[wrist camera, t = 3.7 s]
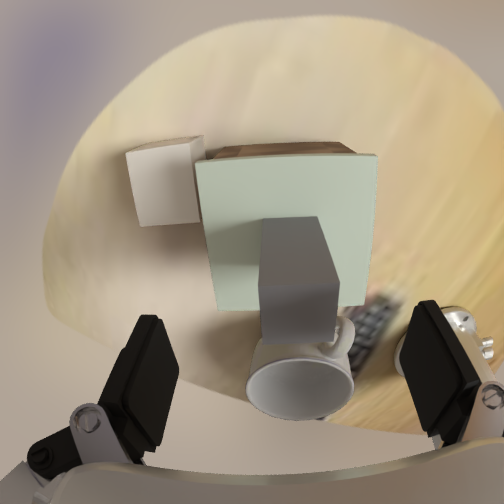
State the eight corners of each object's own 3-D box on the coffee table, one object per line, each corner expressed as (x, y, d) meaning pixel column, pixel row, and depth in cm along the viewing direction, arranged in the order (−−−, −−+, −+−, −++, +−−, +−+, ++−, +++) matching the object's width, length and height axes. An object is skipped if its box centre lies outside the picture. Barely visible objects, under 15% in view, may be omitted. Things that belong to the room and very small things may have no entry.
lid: (373, 153, 16) (436, 193, 10) (361, 298, 21) (389, 381, 14) (198, 160, 17) (150, 204, 10) (219, 304, 22) (199, 389, 15)
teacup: (300, 380, 38) (303, 431, 31) (232, 346, 35) (224, 400, 28) (380, 316, 32) (400, 368, 25) (311, 267, 29) (322, 320, 22)
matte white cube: (203, 134, 24) (188, 142, 20) (211, 201, 27) (200, 222, 23) (149, 142, 25) (125, 152, 20) (159, 205, 27) (140, 226, 23)
